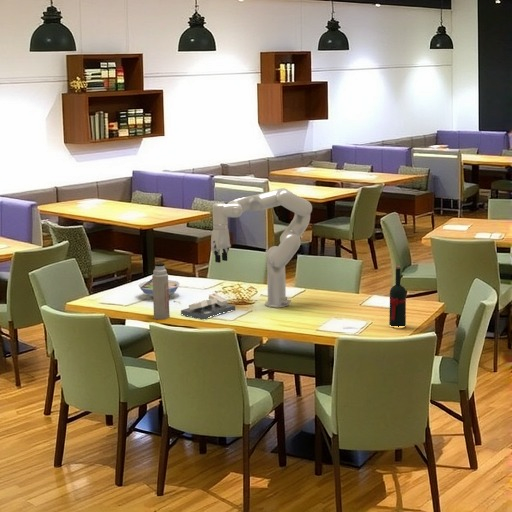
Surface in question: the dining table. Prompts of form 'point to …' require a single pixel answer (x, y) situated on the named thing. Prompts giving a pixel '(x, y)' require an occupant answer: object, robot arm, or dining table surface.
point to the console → (207, 310)
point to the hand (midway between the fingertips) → (221, 261)
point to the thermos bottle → (160, 292)
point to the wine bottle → (397, 303)
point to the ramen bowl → (148, 287)
